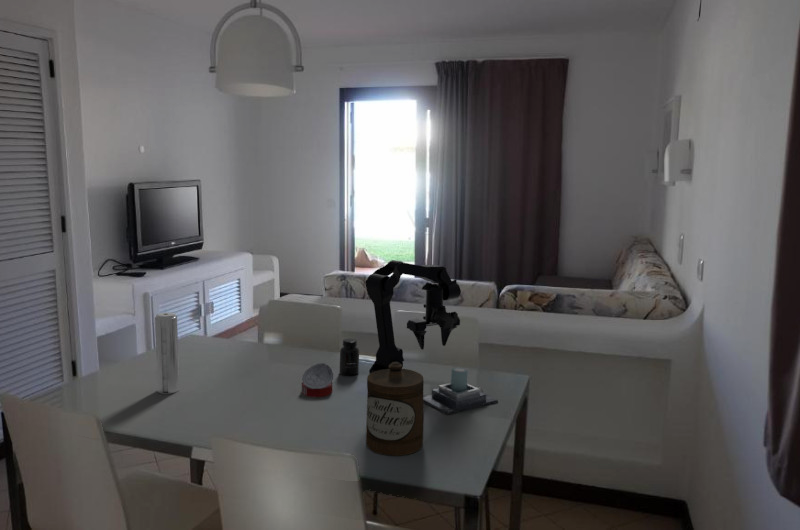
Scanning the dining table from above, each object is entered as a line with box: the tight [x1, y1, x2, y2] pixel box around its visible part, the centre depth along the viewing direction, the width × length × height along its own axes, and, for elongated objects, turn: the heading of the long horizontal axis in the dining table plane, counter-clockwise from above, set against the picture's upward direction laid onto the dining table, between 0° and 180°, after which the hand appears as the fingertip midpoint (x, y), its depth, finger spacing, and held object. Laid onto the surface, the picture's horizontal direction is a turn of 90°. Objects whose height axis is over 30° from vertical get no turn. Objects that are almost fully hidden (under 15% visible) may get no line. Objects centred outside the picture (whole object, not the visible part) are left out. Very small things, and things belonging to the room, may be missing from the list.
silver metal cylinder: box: [154, 312, 180, 395], centre depth 193 cm, size 6×6×25 cm
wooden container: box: [365, 362, 425, 457], centre depth 158 cm, size 15×15×22 cm
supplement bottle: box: [338, 338, 360, 377], centre depth 214 cm, size 7×7×12 cm
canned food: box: [301, 363, 334, 398], centre depth 196 cm, size 11×10×10 cm
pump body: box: [450, 367, 469, 393], centre depth 190 cm, size 5×5×7 cm
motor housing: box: [423, 382, 499, 416], centre depth 190 cm, size 20×14×4 cm
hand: (433, 347), depth 207 cm, fingers open, 9 cm apart
